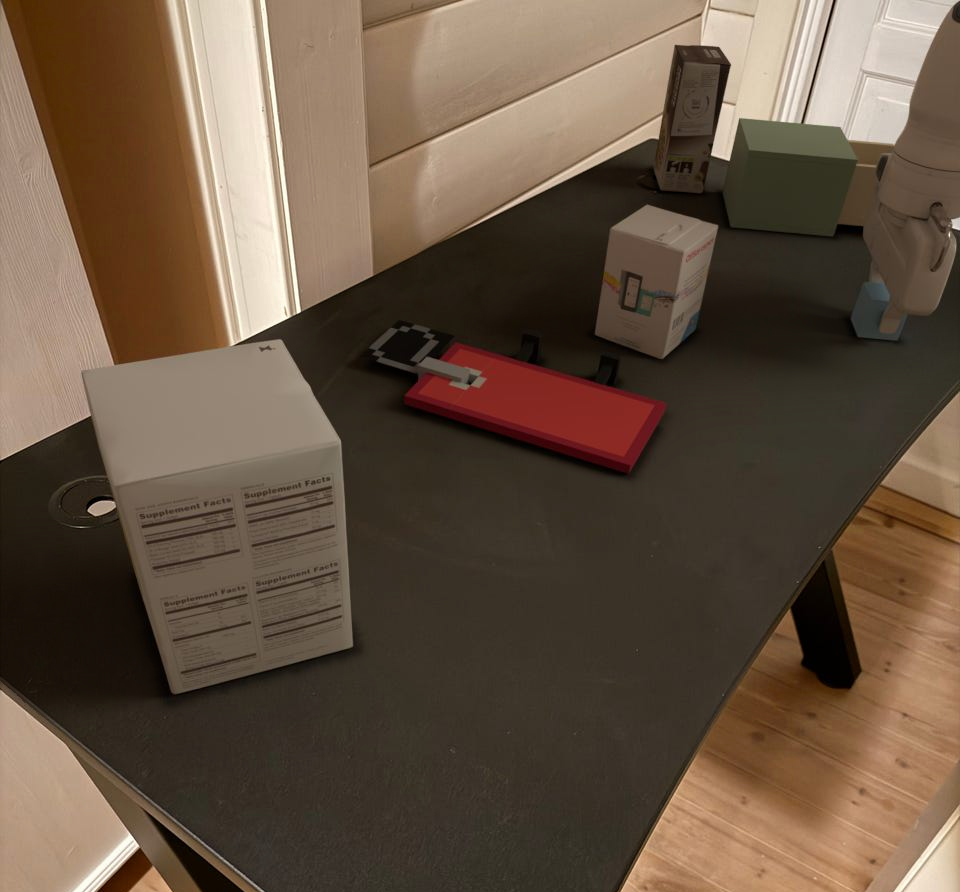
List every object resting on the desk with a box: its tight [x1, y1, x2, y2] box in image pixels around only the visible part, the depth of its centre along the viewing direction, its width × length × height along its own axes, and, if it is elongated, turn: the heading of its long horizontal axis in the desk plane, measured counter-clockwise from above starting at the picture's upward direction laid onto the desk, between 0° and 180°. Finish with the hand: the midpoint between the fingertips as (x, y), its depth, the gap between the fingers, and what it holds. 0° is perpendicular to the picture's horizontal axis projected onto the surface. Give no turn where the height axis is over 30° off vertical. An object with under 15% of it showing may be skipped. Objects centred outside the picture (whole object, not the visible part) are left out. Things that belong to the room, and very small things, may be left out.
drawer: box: [837, 139, 895, 227], centre depth 125 cm, size 17×11×8 cm
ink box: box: [594, 204, 719, 360], centre depth 98 cm, size 8×8×12 cm
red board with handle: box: [359, 319, 668, 475], centre depth 91 cm, size 30×3×15 cm
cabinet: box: [721, 117, 858, 237], centre depth 125 cm, size 14×13×10 cm
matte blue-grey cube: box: [850, 281, 909, 342], centre depth 104 cm, size 4×4×4 cm
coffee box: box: [653, 44, 732, 194], centre depth 129 cm, size 9×6×16 cm
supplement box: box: [80, 338, 354, 695], centre depth 63 cm, size 13×13×18 cm
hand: (878, 315), depth 105 cm, fingers open, 5 cm apart
